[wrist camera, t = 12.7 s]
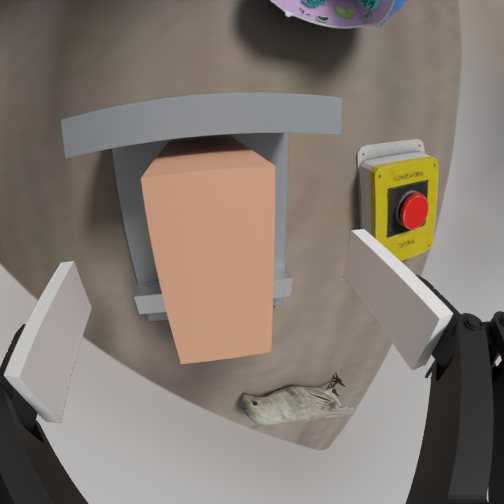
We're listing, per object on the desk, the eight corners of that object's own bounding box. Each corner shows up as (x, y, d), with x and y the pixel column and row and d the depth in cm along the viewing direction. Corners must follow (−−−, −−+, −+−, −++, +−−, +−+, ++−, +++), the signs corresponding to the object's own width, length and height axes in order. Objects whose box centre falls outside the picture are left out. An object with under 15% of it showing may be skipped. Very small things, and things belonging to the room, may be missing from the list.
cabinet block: (167, 142, 20) (140, 178, 10) (232, 136, 21) (275, 165, 10) (182, 265, 25) (183, 372, 15) (237, 258, 26) (270, 360, 16)
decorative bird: (242, 382, 37) (252, 426, 31) (341, 368, 41) (361, 403, 35) (239, 402, 40) (248, 442, 33) (331, 387, 43) (348, 421, 37)
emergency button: (447, 145, 22) (436, 268, 29) (420, 137, 25) (415, 252, 33) (379, 154, 21) (376, 294, 28) (352, 146, 25) (358, 273, 32)
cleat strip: (137, 281, 25) (134, 296, 23) (284, 264, 27) (292, 277, 25) (142, 298, 26) (139, 314, 24) (283, 281, 28) (291, 295, 26)
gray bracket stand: (112, 114, 19) (60, 120, 10) (283, 99, 21) (342, 97, 12) (150, 313, 28) (143, 391, 20) (279, 298, 31) (311, 367, 22)
